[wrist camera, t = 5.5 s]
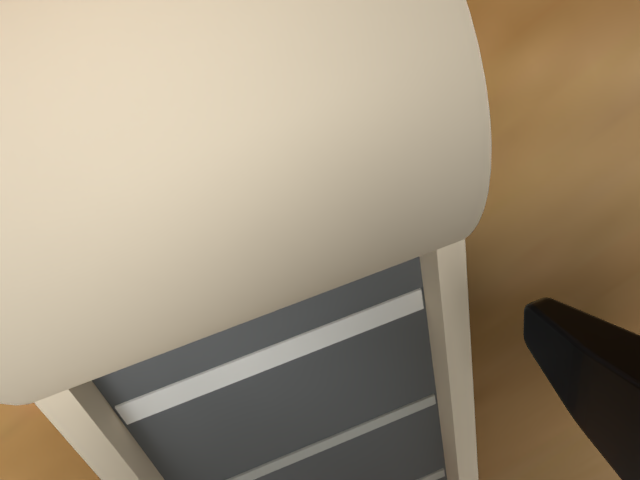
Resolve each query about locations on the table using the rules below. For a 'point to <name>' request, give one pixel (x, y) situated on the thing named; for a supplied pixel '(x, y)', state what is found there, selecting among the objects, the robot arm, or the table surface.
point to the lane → (243, 234)
